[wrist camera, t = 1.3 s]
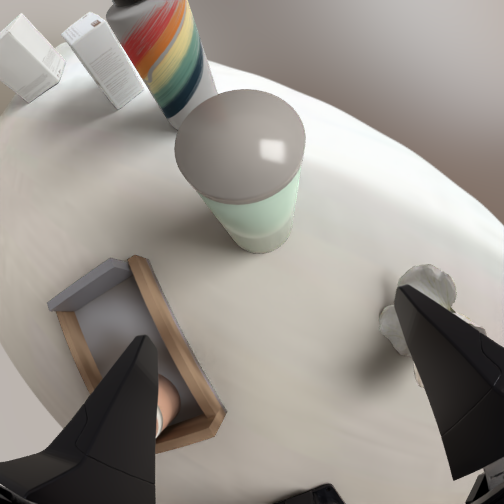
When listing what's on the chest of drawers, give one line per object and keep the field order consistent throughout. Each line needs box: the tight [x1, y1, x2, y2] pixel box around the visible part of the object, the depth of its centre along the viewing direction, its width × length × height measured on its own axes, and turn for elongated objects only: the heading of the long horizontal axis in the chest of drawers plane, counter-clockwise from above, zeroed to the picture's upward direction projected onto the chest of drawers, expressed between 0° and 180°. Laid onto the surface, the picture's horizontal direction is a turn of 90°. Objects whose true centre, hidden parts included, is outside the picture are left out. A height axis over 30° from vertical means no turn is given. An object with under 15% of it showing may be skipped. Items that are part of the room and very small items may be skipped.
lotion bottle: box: [106, 0, 218, 130], centre depth 17 cm, size 6×6×20 cm
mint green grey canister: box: [175, 89, 305, 253], centre depth 17 cm, size 6×6×13 cm
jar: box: [156, 374, 181, 438], centre depth 19 cm, size 5×5×5 cm
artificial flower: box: [379, 264, 486, 388], centre depth 17 cm, size 9×22×10 cm, turn 56°
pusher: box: [47, 258, 133, 311], centre depth 21 cm, size 1×8×4 cm, turn 118°
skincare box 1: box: [0, 13, 66, 103], centre depth 24 cm, size 8×7×16 cm
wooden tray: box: [56, 255, 227, 454], centre depth 20 cm, size 15×11×5 cm
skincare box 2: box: [61, 12, 144, 109], centre depth 22 cm, size 6×4×12 cm
